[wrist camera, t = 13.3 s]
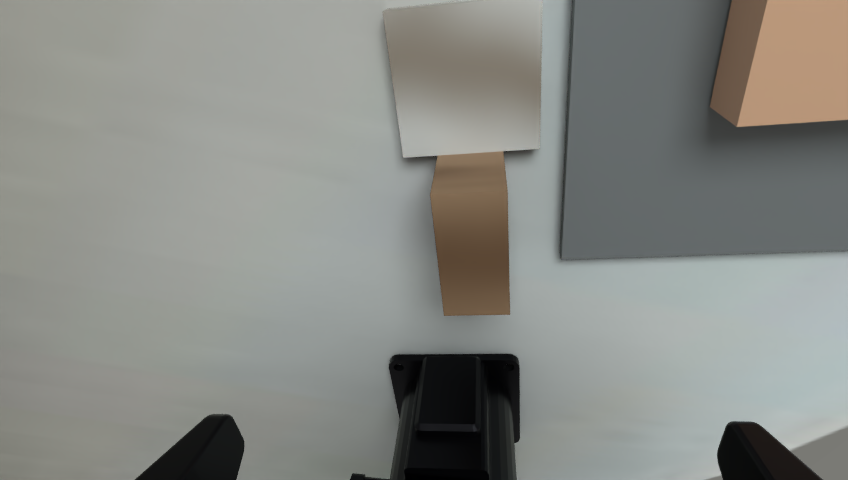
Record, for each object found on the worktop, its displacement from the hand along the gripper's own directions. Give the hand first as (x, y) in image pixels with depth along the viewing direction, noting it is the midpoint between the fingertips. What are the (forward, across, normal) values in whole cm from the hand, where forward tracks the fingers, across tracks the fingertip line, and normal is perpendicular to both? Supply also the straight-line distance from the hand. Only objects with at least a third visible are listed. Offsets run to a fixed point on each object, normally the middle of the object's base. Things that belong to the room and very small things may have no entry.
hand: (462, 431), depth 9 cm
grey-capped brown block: (+12, 0, -1) cm, 12 cm away
